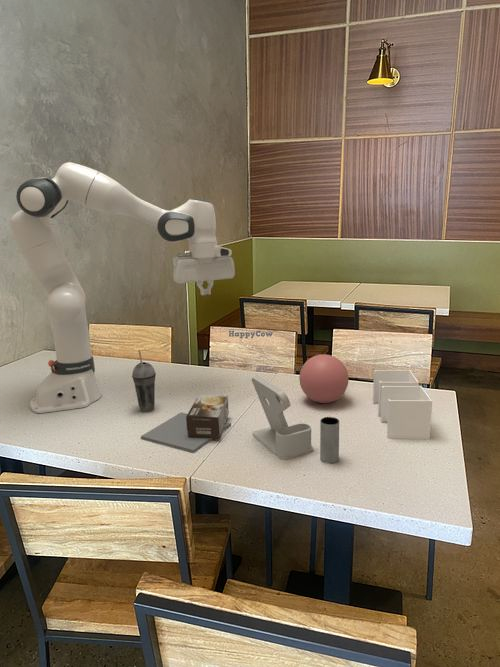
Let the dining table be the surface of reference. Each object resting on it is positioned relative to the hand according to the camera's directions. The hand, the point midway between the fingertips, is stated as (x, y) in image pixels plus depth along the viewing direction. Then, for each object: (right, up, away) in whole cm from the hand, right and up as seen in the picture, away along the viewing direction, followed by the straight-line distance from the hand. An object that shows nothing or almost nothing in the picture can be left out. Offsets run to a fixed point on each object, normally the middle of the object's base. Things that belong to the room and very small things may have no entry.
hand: (205, 294), depth 159 cm
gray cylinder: (+34, -44, -37) cm, 67 cm away
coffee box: (+4, -34, -11) cm, 36 cm away
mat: (-4, -41, -20) cm, 45 cm away
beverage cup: (-18, -37, -4) cm, 41 cm away
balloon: (+39, -34, +1) cm, 52 cm away
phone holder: (+23, -42, -28) cm, 55 cm away
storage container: (+58, -38, -16) cm, 71 cm away
